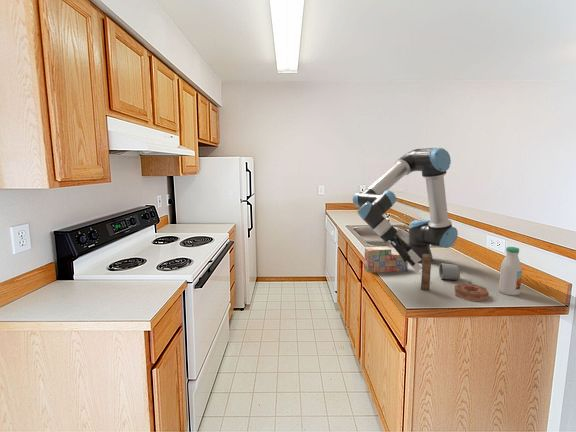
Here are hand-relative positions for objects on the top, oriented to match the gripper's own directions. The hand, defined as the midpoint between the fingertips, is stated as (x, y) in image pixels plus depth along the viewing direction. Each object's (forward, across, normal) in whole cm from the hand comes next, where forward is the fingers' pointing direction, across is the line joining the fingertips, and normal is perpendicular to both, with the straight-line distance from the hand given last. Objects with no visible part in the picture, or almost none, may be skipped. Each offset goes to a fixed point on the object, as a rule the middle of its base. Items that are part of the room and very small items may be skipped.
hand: (419, 265), depth 152 cm
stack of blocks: (-3, -24, -19) cm, 31 cm away
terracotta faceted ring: (+22, +1, +7) cm, 24 cm away
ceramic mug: (+18, -20, +2) cm, 27 cm away
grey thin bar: (+24, -10, +8) cm, 27 cm away
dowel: (+10, -1, -6) cm, 11 cm away
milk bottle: (+34, -7, +18) cm, 39 cm away
